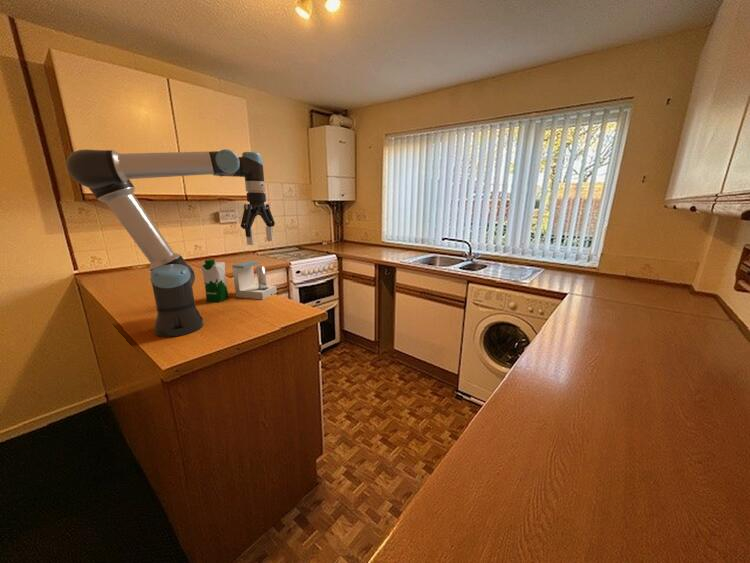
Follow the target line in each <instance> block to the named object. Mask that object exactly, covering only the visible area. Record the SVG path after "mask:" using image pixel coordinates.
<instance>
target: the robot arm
mask: <svg viewBox="0 0 750 563" xmlns="http://www.w3.org/2000/svg"><path fill="white" fill-rule="evenodd" d="M241 155H242V156H238V155H237V153H236V152H234V151H233V150H231V149H225V148H224V149H222V150H221V149H220V150H218V151H217V150H215V151H214V150H213V151H176V152H175V151H174V152H172V151H171V152H141V153H140V152H135V153H134V152H133V153H119V152H118V151H117V150H112V149H106V150H105V149H104V150H103V149H102V150H101V149H79V150H76V151H73V152H72V153H71V154H69V155H68V156H67V158H66V162H65V165H66V168H65V169H66V170H67V173H68V174H69V176H70V177H71V179H73V180H74V181H75V182H76V183H77V184H80V185H82V186H84V187H86V188H88V189H89V190H90V192H91V193H92V194H93V196H94V197H95V198H96V200H97V201H100V202H101V203H104V204H105V203H106V205H107V206H108V207H109V209H110V210H111V212H112V213H113V214H114V215H115V217H116V218H117V219H118V221H119V223H120V224H121V226H123V228H124V229H125V231H127V232H126V233H128V234H129V236H130V238H132V240H133V241H134V243H135V244H136V245H137V246H138V248H139V249H140V251H141V252H142V253H143V255H144V256H145V258H146V259H147V260H148V262H149V263H150V265H149V268H148V269H149V271H150V274H149V275H150V282H151V286H152V287H151V288H152V290H153V297H154V300H155V306H156V310H157V314H156V320H155V325H154V333H155V335H156V336H158V337H162V338H163V337H165V338H170V337H171V338H173V337H179V336H184V335H187V334H191V333H193V332H196V331H198V330H201V329H202V328H203V326H204V319H203V317H202V316H201V314H200V312H199V310H198V309H197V307H196V303H195V302H196V301H195V297H194V291H193V285H194V283H195V281H196V274H195V271H194V269H193V267H192V266H191V265H189V264H188V263H187V262H186V260H185V259H184V258H183V256H182V254H179V253H176V252H174V251H173V250H172V247H171V246H170V245H169V243H168V242H167V241H166V239H165V237H164V236H163V235H162V233H161V232H160V230H159V229H158V227H157V226H156V225H155V223H154V221H153V220H152V219H151V216H149V214H148V213H147V212H146V210H145V208H144V206H142V205H141V203H140V202H139V200H138V198H137V197H136V196H135V194H134V192H135V190H136V187H135V186H134V184H133V183H132V181H131V180H133V179H134V180H137V179H139V180H140V179H153V178H154V179H157V178H171V177H175V178H176V177H187V176H188V177H190V176H191V177H192V176H207V175H208V176H209V175H212V176H215V177H234V178H235V177H240V178H244V183H245V185H244V186H245V191H246V202H248V203H245V204H243V213H242V218H241V223H240V228H241V229H243V230H245V237H246V245H248V246H254V244H255V243H254V242H255V241H254V239H255V238H254V233H253V232H254V231H253V228H252V226H253V224H254V221H255V219H256V217H257V216H260V217H261V219H262V221H263V223H264V224H265V225H266V226H265V232H266V233H265V235H266V242H274V237H273V227H275V225H276V223H275V220H274V216H273V214H272V212H271V209H270V205H269V203H267V204H265V203H266V201H267V196H266V195H267V194H266V193H265V192H266V184H265V174H264V173H265V172H264V162H263V157H262V154H261V153H259V152H255V151H244V152H242V154H241Z"/></svg>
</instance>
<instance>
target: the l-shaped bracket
mask: <svg viewBox="0 0 750 563" xmlns="http://www.w3.org/2000/svg"><path fill="white" fill-rule="evenodd" d="M259 262H260V261H254V260H247V261H243V262H239V263H236V264H232V274H233V275H232V276H233V281H234V283H233V284H234V289H235V290H234V291H235V297H236V298H244V299H245V298H247V299H255V300H258V299H259V300H264V298H265V299H266V298H269V297H270V296H273V295H274V294H277V293H278V291H277V286H276V285H267V289H266V290H259V289H258V284H256V282H255V280H256V279H255V274H254V273H255V272H254V271H255V270H254V266H256V265H257V266H258V265H259V264H260V263H259ZM271 294H272V295H271Z"/></svg>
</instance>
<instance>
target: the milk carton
mask: <svg viewBox="0 0 750 563" xmlns="http://www.w3.org/2000/svg"><path fill="white" fill-rule="evenodd" d="M199 266H200V269H201V272H202V277H203V283H204V288H205V289H204V290H205V297H206V303H207V302H211V303H213V302H214V303H215V302H216V303H221V302H223V301H225V300H226V299H228V298H229V293H228V292H229V291H228V288H227V279H226V271H225V270H226V262H222V261H220V262H215V258H214V259H205V260H204V263H202V264H200V265H199Z"/></svg>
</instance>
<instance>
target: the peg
mask: <svg viewBox="0 0 750 563" xmlns="http://www.w3.org/2000/svg"><path fill="white" fill-rule="evenodd" d="M256 276H257V277H256V278H257V285H258V289H259V290H266V289H267V286H268V284H267V275H266V267H265V265H257V266H256Z"/></svg>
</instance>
